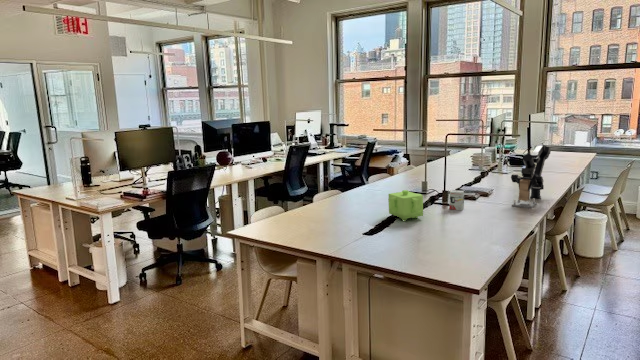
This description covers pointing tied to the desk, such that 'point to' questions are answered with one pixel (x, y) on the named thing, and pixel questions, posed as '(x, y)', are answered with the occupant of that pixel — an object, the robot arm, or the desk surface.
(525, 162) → the robot arm
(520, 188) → the walnut block
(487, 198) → the desk surface
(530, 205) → the peg plate
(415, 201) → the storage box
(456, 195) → the ink box
